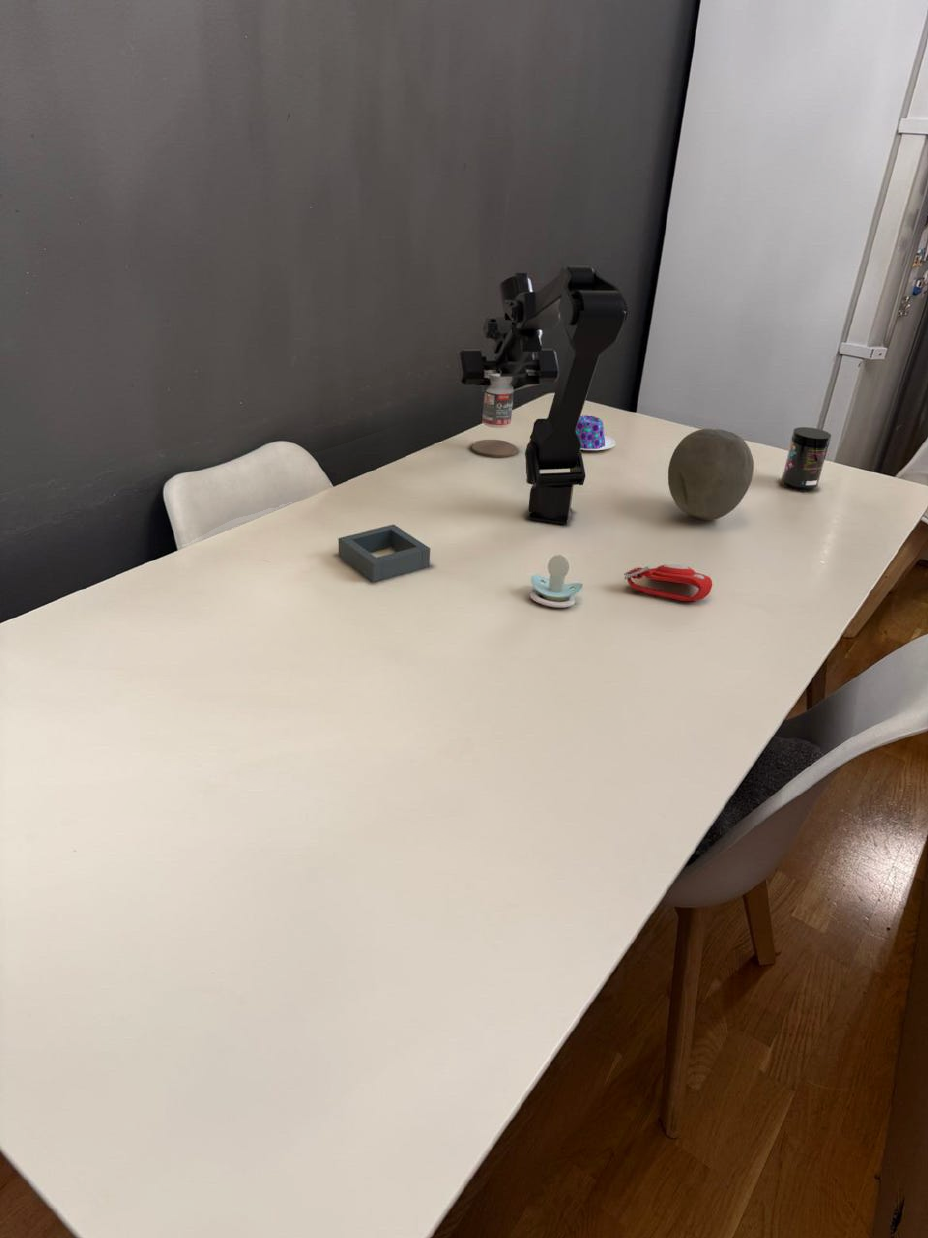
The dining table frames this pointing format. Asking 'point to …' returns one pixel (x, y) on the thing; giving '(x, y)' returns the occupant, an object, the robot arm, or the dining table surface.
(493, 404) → the pill bottle
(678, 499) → the grey brown round stone
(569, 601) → the pacifier
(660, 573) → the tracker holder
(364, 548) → the bottle stand
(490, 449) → the coaster
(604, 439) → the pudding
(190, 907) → the dining table surface
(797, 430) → the supplement container
